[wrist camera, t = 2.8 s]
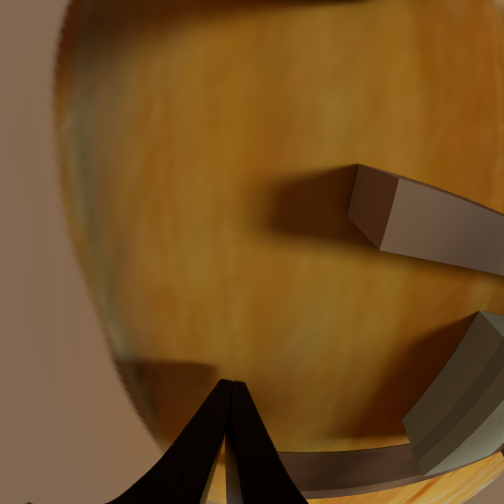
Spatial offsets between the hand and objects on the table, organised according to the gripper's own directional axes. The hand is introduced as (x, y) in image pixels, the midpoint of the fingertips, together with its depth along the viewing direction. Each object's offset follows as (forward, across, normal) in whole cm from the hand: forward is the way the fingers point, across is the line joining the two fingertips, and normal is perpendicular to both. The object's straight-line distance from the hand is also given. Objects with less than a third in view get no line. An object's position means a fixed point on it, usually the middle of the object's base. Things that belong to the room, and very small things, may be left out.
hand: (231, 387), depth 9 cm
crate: (+1, -12, 0) cm, 12 cm away
